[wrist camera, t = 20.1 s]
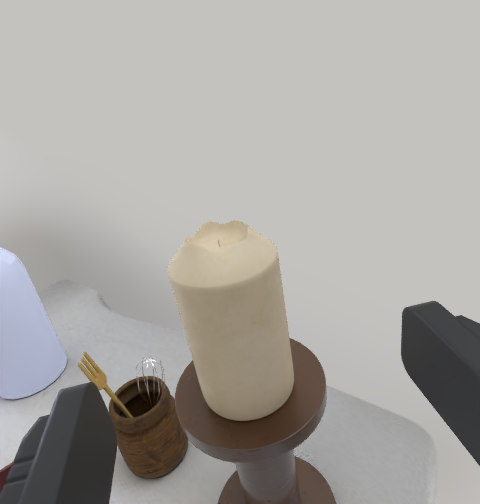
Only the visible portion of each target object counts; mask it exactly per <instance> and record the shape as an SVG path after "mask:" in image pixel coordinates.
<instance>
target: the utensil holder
mask: <svg viewBox="0 0 480 504" xmlns="http://www.w3.org/2000/svg"><path fill="white" fill-rule="evenodd" d="M84 356H85V358H86V359H87V360H88V361H89V363H90V364H91V365H92V367H93V368H94V369H95V370H94V369H93V368H92V367H91V366H90V364H89V363H88V362H87V361H86V360H85V359H84V358H83V357H82V358H81V361H82V362H83V364H84V365H85V366H86V367H87V369H88V370H89V371H90V373H91V374H92V375H93V376H94V377H93V376H92V375H91V374H90V373H89V372H88V370H87V369H86V368H85V367H84V366H83V365H82V364H81V363H78V366H79V367H80V369H81V370H82V371H83V372H84V374H85V375H86V376H87V378H88V379H89V380H90V381H91V382H93V383H95V384H96V386H97V388H98V390H101V389H104V390H105V391H106V392H107V394H108V395H109V396H110V397H111V398H112V399H111V401H110V404H109V414H110V416H111V419H112V421H113V423H114V426H115V430H116V436H117V445H118V447H119V449H120V452H121V454H122V456H123V458H124V460H125V462H126V464H127V466H128V467H129V468H130V470H131V471H132V472H133V473H134V474H136V475H138V476H140V477H143V478H156V477H159V476H162V475H164V474H166V473H168V472H170V471H171V470H172V469H174V468H175V467H176V466H177V465H178V464H179V463H180V461H181V460H182V458H183V457H184V455H185V453H186V450H187V445H188V438H187V436H186V435H185V433H184V431H183V429H182V427H181V424H180V421H179V418H178V415H177V412H176V407H175V399H174V398H173V396H172V395H170V391H169V389H168V387H167V386H166V384H165V383H164V382H163V381H162V380H161V379H159V378H157V377H158V375H157V377H153V376H144V374H143V377H139V378H137V373H136V379H133V380H131V381H129V382H127V383H126V384H124V385H123V386H121V387H120V388H119V389H118V390H117V391H116V392H115V394H114V393H113V392H112V391H111V389H110V388H109V387H108V386H107V383H106V375H105V374H104V373H103V371H102V370H101V369H100V368H99V367H98V366H97V365H96V363H95V362H94V361H93V360H92V359H91V358H90V356H89V355H88V354H87V353H86V352H84ZM150 357H151V356H150ZM150 357H149V360H148V362H149V361H150V360H151V359H152V360H151V361H152V365H153V361H154V360H153V358H152V357H151V359H150ZM143 359H144V358H143ZM143 359H142V361H146V360H143ZM146 359H147V358H146ZM157 359H158V358H157ZM142 361H141V362H142ZM151 361H150V362H151ZM146 362H147V361H146ZM146 362H145V363H146ZM155 362H157V361H155ZM160 362H161V361H160ZM139 363H140V362H139ZM139 363H138V364H139ZM145 363H144V364H145ZM157 363H158V362H157ZM144 364H142V366H141V367H142V370H143V365H144ZM159 364H160V363H159ZM160 365H161V368H163V367H162V364H160ZM137 366H138V365H137ZM137 366H136V368H137ZM153 366H154V365H153ZM154 368H155V367H154ZM154 368H153V374H154ZM140 369H141V368H140ZM147 369H148V364H147ZM139 371H140V370H139ZM155 371H156V369H155ZM96 372H97V373H96ZM163 372H164V369H163V371H162V379H163ZM156 373H157V372H156ZM138 374H139V372H138ZM164 380H165V375H164Z"/></svg>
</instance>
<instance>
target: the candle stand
mask: <svg viewBox="0 0 480 504" xmlns="http://www.w3.org/2000/svg"><path fill="white" fill-rule="evenodd" d="M289 339H290V338H289ZM290 347H291V354H292V362H293V370H294V384H293V389H292V392H291V394H290V396H289V398H288V399H287V401H286V402H285V403H284V404H283V405H282V406H281V407H280V408H279V409H278V410H276V411H274V412H273V413H271V414H269V415H267V416H265V417H262V418H259V419H255V420H249V421H237V420H231V419H227V418H224V417H222V416H220V415H218V414H217V413H215V412H214V411H213V410H212V409H211V408H210V407H209V405H208V404H207V402H206V400H205V398H204V396H203V393H202V390H201V387H200V383H199V380H198V376H197V373H196V370H195V366H194V363H193V361H192V362H191V363H190V364H189V365H188V366H187V368H186V369H185V370H184V372H183V374H182V375H181V377H180V379H179V382H178V384H177V388H176V393H175V407H176V412H177V415H178V418H179V421H180V424H181V427H182V429H183V431H184V433H185V435H186V436H187V438H188V439H189V440H190V441H191V442H192V443H193V444H194V445H195V446H196V447H197V448H198V449H200V450H201V451H202V452H204V453H206V454H208V455H210V456H212V457H214V458H217V459H220V460H223V461H228V462H234V463H235V464H236V467H237V471H236V472H235V473H234V474H233V475H232V476H231V477H230V479H229V480H228V481H227V483H226V485H225V486H224V489H223V491H222V493H221V496H220V499H219V502H218V504H336V502H335V499H334V496H333V493H332V491H331V488H330V486H329V485H328V483H327V481H326V480H325V478H324V477H323V476H322V475H321V473H320V472H319V471H318V470H317V469H315V468H314V467H313V466H312V465H310V464H309V463H307V462H306V461H304V460H302V459H300V458H297V457H295V456H294V451H293V449H294V448H295V447H297V446H298V445H300V444H301V443H302V442H303V441H304V440H306V439H307V438H308V437H309V435H310V434H311V433H312V432H313V431H314V430H315V428H316V427H317V425H318V424H319V422H320V420H321V418H322V416H323V413H324V410H325V407H326V400H327V392H326V380H325V374H324V371H323V368H322V366H321V364H320V362H319V361H318V359H317V357H316V356H315V355H314V354H313V353H312V352H311V351H310V350H309V349H308V348H307V347H305V346H304V345H302V344H301V343H299V342H297V341H295V340H293V339H290Z"/></svg>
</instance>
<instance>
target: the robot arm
mask: <svg viewBox="0 0 480 504" xmlns="http://www.w3.org/2000/svg"><path fill="white" fill-rule="evenodd" d="M401 341H402V342H401V356H402V361H403V364H404V366H405V369H406V371H407V373H408V375H409V376H410V378H411V379H412V380H413V382H414V383H415V384H416V385H417V387H418V388H419V389H420V390H421V392H422V393H423V394H424V396H425V397H426V398H427V399H428V400H429V402H430V403H431V404H432V406H433V407H434V408H435V409H436V411H437V412H438V413H439V414H440V416H441V417H442V418H443V420H444V421H445V422H446V423H447V425H448V426H449V427H450V429H451V430H452V431H453V432H454V434H455V435H456V436H457V438H458V439H459V440H460V441H461V443H462V444H463V445H464V446H465V448H466V449H467V450H468V452H469V453H470V454H471V455H472V456H473V458H474V459H475V460H476V462H477V463H478V464H479V465H480V324H479V323H477V322H475V321H473V320H470V319H468V318H466V317H464V316H462V315H460V316H456V317H455V316H454V315H452V314H451V313H450V312H449V311H448V310H446V309H445V308H444V307H443V306H442V305H441V304H439V303H438V302H436V301H431V302H427V303H422V304H418V305H414V306H410V307H406V308H405V309H404V310H403V313H402V340H401ZM116 452H117V436H116V430H115V426H114V423H113V421H112V419H111V416H110V414H109V412H108V410H107V408H106V405H105V403H104V401H103V399H102V396H101V394H100V392H99V390H98V388H97V386H96V384H95V383H93V382H90V383H85V384H81V385H77V386H73V387H69V388H65V389H61V390H60V391H59V392H58V393H57V396H56V398H55V401H54V404H53V407H52V410H51V412H50V415H47V416H43V417H39V419H38V420H37V421H36V422H35V424H34V425H33V426H32V427H31V429H30V430H29V431H28V433H27V434H26V435H25V436H24V438H23V439H22V442H21V444H20V447H19V449H18V452H17V454H16V456H15V459H14V465H12V466H11V469H10V471H9V474H8V476H7V478H6V485H4V486H3V488H2V491H1V493H0V504H109V499H110V493H111V486H112V479H113V472H114V465H115V459H116Z"/></svg>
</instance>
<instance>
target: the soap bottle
mask: <svg viewBox="0 0 480 504" xmlns="http://www.w3.org/2000/svg"><path fill="white" fill-rule="evenodd" d="M66 364H67V356H66V353H65V350H64V348H63V346H62V344H61V342H60V340H59V338H58V336H57V334H56V332H55V329H54V327H53V325H52V323H51V321H50V319H49V317H48V315H47V313H46V311H45V309H44V306H43V304H42V302H41V300H40V298H39V296H38V294H37V292H36V290H35V288H34V285H33V283H32V281H31V279H30V277H29V275H28V273H27V271H26V269H25V267H24V265H23V263H21V261H20V260H19V259H18V257H17V256H16V255H15V254H13V253H11V252H9V251H7V250H5V249H3V248H1V247H0V396H1V397H2V398H5V399H19V398H23V397H27V396H30V395H32V394H34V393H36V392H39V391H41V390H43V389H44V388H46V387H47V386H48V385H50V384H51V383H52V382H54V381H55V380H56V379H57V378H58V377H59V376H60V374H61V373H62V372H63V371H64V369H65V366H66Z"/></svg>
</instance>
